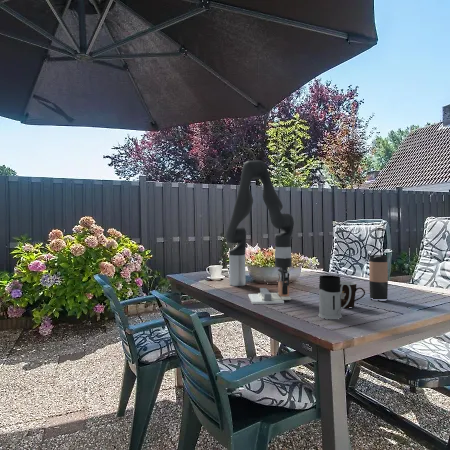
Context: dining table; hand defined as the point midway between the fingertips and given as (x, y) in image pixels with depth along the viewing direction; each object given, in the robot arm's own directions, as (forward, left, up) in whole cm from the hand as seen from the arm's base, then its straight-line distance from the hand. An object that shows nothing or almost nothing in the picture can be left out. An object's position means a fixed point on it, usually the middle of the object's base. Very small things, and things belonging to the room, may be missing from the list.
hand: (283, 292), depth 156 cm
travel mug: (+5, +42, -3) cm, 43 cm away
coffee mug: (+17, +23, -3) cm, 29 cm away
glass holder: (+32, +12, -3) cm, 35 cm away
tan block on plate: (0, 0, -2) cm, 2 cm away
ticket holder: (0, -9, -3) cm, 9 cm away
